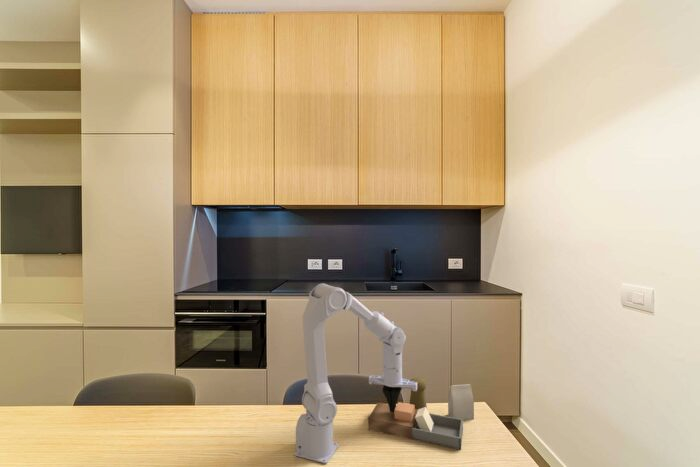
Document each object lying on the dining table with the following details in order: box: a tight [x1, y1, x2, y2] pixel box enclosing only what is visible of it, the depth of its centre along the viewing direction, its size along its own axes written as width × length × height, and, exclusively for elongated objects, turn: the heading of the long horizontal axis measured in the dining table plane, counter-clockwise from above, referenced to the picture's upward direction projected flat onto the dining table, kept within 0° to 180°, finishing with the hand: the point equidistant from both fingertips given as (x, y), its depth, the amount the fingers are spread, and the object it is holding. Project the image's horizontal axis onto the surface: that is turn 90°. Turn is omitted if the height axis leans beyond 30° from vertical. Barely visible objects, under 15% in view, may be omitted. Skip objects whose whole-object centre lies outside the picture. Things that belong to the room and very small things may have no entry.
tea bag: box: [447, 383, 475, 421], centre depth 107 cm, size 4×7×10 cm, turn 98°
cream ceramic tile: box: [415, 407, 434, 431], centre depth 99 cm, size 5×5×2 cm
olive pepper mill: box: [409, 376, 428, 409], centre depth 109 cm, size 6×6×11 cm
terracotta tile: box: [394, 401, 415, 422], centre depth 101 cm, size 5×5×2 cm
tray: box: [411, 412, 464, 451], centre depth 98 cm, size 13×10×3 cm
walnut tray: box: [367, 402, 418, 440], centre depth 103 cm, size 13×10×4 cm
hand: (392, 410), depth 103 cm, fingers closed
